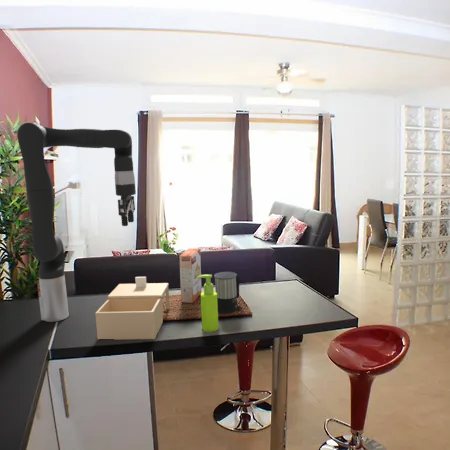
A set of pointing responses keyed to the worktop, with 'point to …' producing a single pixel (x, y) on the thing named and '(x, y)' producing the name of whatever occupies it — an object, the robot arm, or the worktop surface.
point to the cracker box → (190, 275)
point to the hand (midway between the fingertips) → (128, 224)
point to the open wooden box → (130, 318)
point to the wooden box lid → (139, 289)
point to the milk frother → (227, 291)
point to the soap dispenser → (209, 305)
